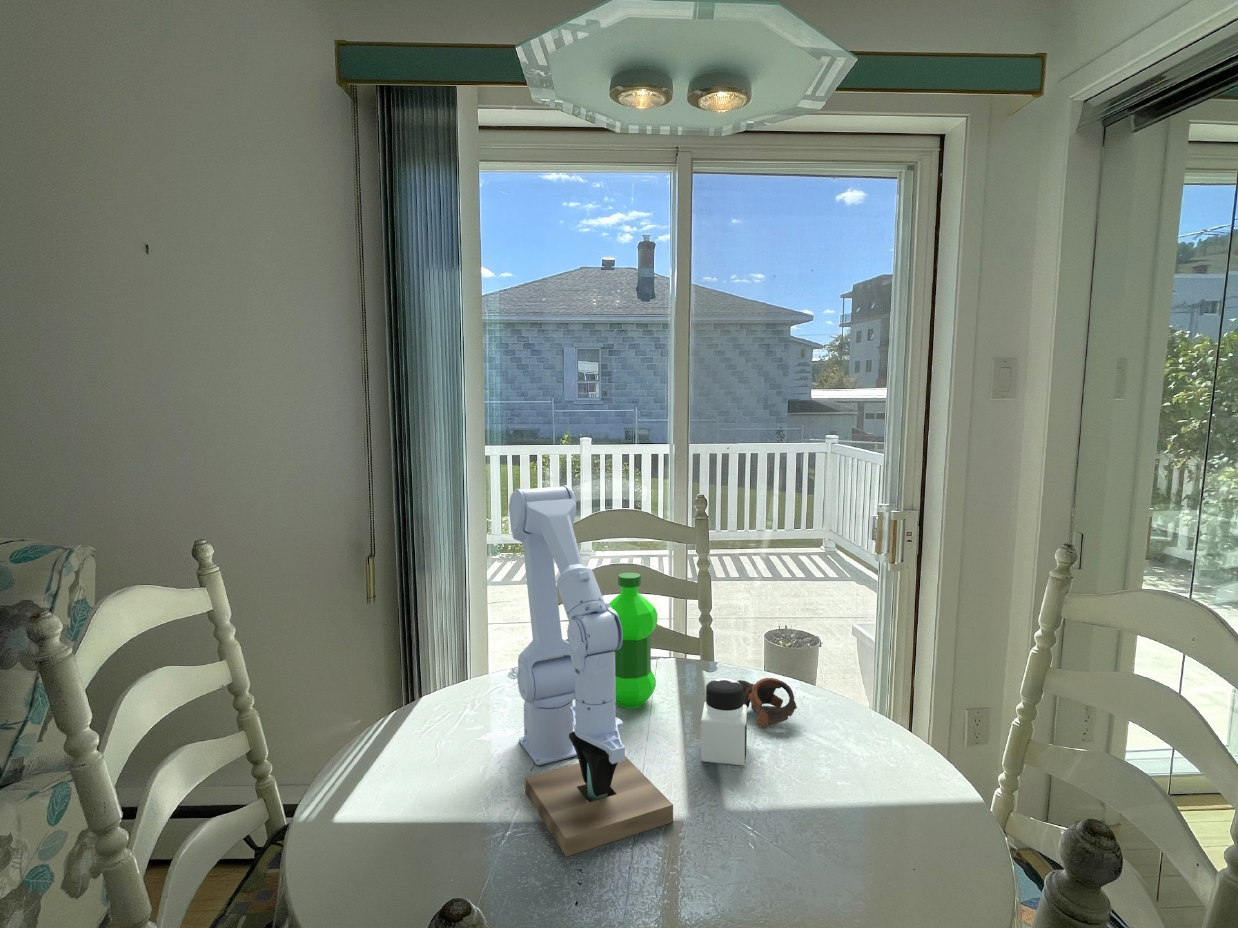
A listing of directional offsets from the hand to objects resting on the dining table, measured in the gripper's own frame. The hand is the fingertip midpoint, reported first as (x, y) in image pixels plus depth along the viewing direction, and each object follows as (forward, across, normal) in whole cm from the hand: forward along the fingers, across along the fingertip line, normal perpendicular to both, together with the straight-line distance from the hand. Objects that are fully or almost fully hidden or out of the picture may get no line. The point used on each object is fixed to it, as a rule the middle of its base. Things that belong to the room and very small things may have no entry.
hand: (596, 786), depth 99 cm
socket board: (+3, 0, 0) cm, 3 cm away
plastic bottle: (+3, +28, -20) cm, 35 cm away
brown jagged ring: (+3, +12, -39) cm, 41 cm away
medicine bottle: (+3, +4, -25) cm, 26 cm away
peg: (+2, 0, 0) cm, 2 cm away
